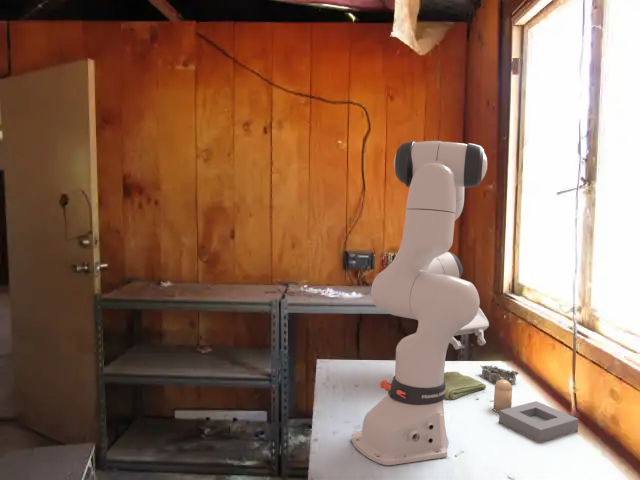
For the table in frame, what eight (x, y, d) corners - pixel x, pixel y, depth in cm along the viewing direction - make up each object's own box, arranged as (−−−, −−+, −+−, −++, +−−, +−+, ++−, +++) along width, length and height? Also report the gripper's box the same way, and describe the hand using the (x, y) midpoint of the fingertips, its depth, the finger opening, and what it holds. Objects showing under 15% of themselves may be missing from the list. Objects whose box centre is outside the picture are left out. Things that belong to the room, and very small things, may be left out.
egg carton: (519, 385, 152) (520, 372, 152) (498, 387, 150) (499, 374, 149) (497, 373, 162) (498, 361, 162) (477, 375, 160) (478, 363, 160)
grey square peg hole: (540, 442, 114) (540, 430, 114) (498, 422, 125) (499, 410, 125) (577, 430, 121) (578, 418, 121) (535, 412, 132) (536, 401, 131)
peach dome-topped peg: (503, 414, 130) (504, 384, 129) (490, 408, 133) (491, 378, 133) (514, 411, 132) (516, 381, 131) (501, 405, 136) (502, 376, 135)
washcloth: (488, 390, 148) (488, 379, 147) (450, 403, 137) (450, 392, 137) (453, 377, 158) (453, 367, 158) (415, 388, 148) (415, 377, 148)
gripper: (427, 302, 143) (450, 344, 135) (478, 298, 153) (502, 336, 145) (416, 314, 147) (438, 356, 139) (467, 309, 157) (489, 347, 149)
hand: (471, 346), depth 142 cm, fingers open, 8 cm apart
